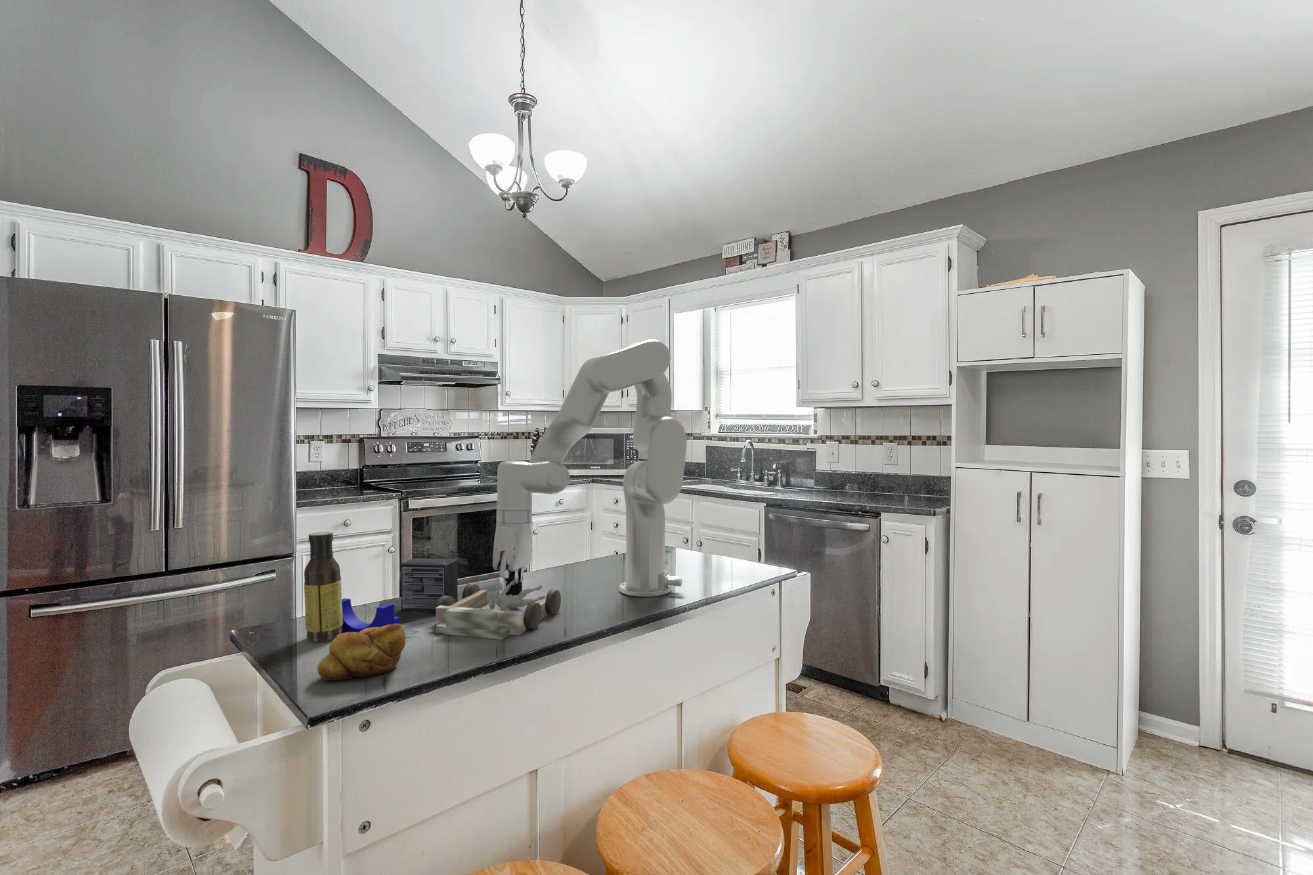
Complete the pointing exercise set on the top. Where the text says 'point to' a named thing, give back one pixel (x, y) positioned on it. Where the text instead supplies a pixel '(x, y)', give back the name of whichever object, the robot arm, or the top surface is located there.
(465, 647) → the top surface
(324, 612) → the sauce bottle
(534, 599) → the soldier figure
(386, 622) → the blue cradle block
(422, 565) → the small box
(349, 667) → the bread roll
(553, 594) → the chassis
